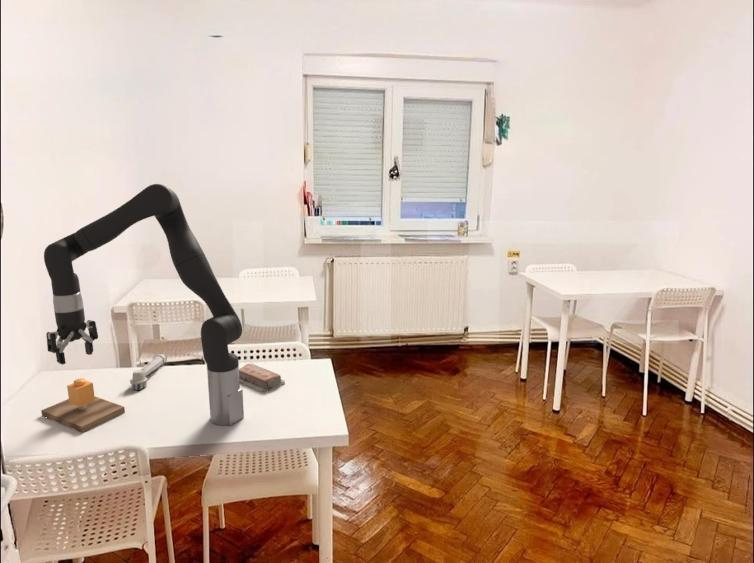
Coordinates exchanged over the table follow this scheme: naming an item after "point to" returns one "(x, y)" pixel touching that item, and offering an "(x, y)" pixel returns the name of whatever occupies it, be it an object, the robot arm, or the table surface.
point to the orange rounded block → (80, 392)
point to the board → (83, 414)
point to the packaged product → (259, 378)
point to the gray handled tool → (146, 372)
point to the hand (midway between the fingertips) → (76, 358)
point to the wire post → (83, 407)
